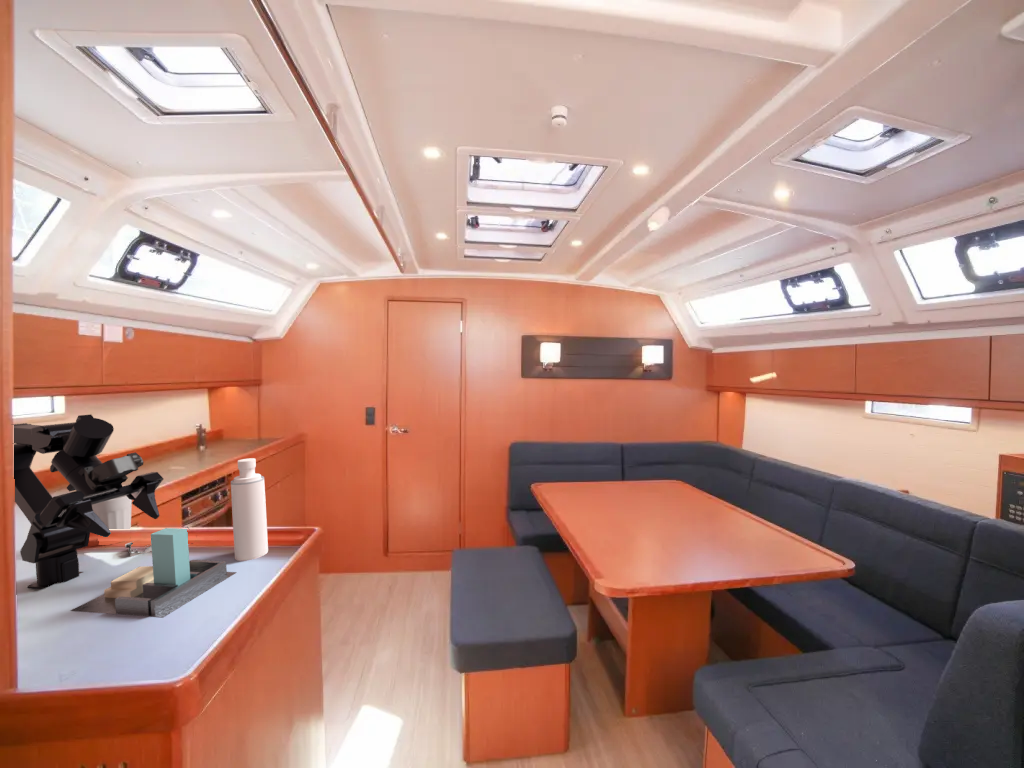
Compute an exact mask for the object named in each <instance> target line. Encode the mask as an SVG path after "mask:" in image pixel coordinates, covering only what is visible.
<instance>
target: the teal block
mask: <svg viewBox="0 0 1024 768" xmlns="http://www.w3.org/2000/svg"><path fill="white" fill-rule="evenodd" d="M150 537H151V544H150V546H152V552H151V557H152V558H151V559H152V566H153V577H154V583H159V584H176V585H178V586H179V585H181V584H183V583H185V582H186V581H188V580H190V565H189V561H190V553H189V544H188V532H187V529H183V528H172V527H170V528H169V527H165V528H163V529H162V528H161V530H158V531H155V532H153V533H150Z"/></svg>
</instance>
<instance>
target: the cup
mask: <svg viewBox="0 0 1024 768" xmlns="http://www.w3.org/2000/svg"><path fill="white" fill-rule="evenodd" d="M132 502H133V500H131V499H129V498H128V497H127V496H126V495H125V496H122V497H118V498H115V499H111V500H108V501H104V502H101V503H96V504H93V505H92V509H93V511H94V512H95V514H96V515H97V516H98V517H99V518H100V519H101V520H102V521H103V523H104V524H105V525H106V526H107V527H108V529H130V528H131V529H132V506H133V504H132Z"/></svg>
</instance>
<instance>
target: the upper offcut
mask: <svg viewBox="0 0 1024 768" xmlns="http://www.w3.org/2000/svg"><path fill="white" fill-rule="evenodd" d="M152 579H154V577H153V565H149V566H148V565H147V566H145V565H143V566H137V567H135V568H134V569H132V570H130V571H128V572H126V573H125V574H123V575H120V576H119V577H117V578H115V579H113V580H111V581H110V587H111V589H136V588H138V587H140V586H142V585H143V584H145V583H147V582H149V581H150V580H152Z"/></svg>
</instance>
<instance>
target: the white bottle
mask: <svg viewBox="0 0 1024 768" xmlns="http://www.w3.org/2000/svg"><path fill="white" fill-rule="evenodd" d="M256 460H257V459H256V458H254V457H251V458H249V457H248V458H242V459H238V460H237V470H238V471H239V475H237V476H234V477H233V479H232V480H231V481H230V491H231V492H230V493H231V494H230V495H231V510H232V511H231V513H232V528H233V529H232V530H233V531H232V532H233V547H234V550H233V551H234V560H236V561H239V562H240V561H241V562H244V561H245V562H247V561H252V560H255V559H259V558H261V557H263V556H265V555H267V553H268V552H269V543H268V520H267V505H266V502H267V501H266V486H265V476H264V475H262V474H260V473H256V467H257V462H256Z"/></svg>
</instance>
